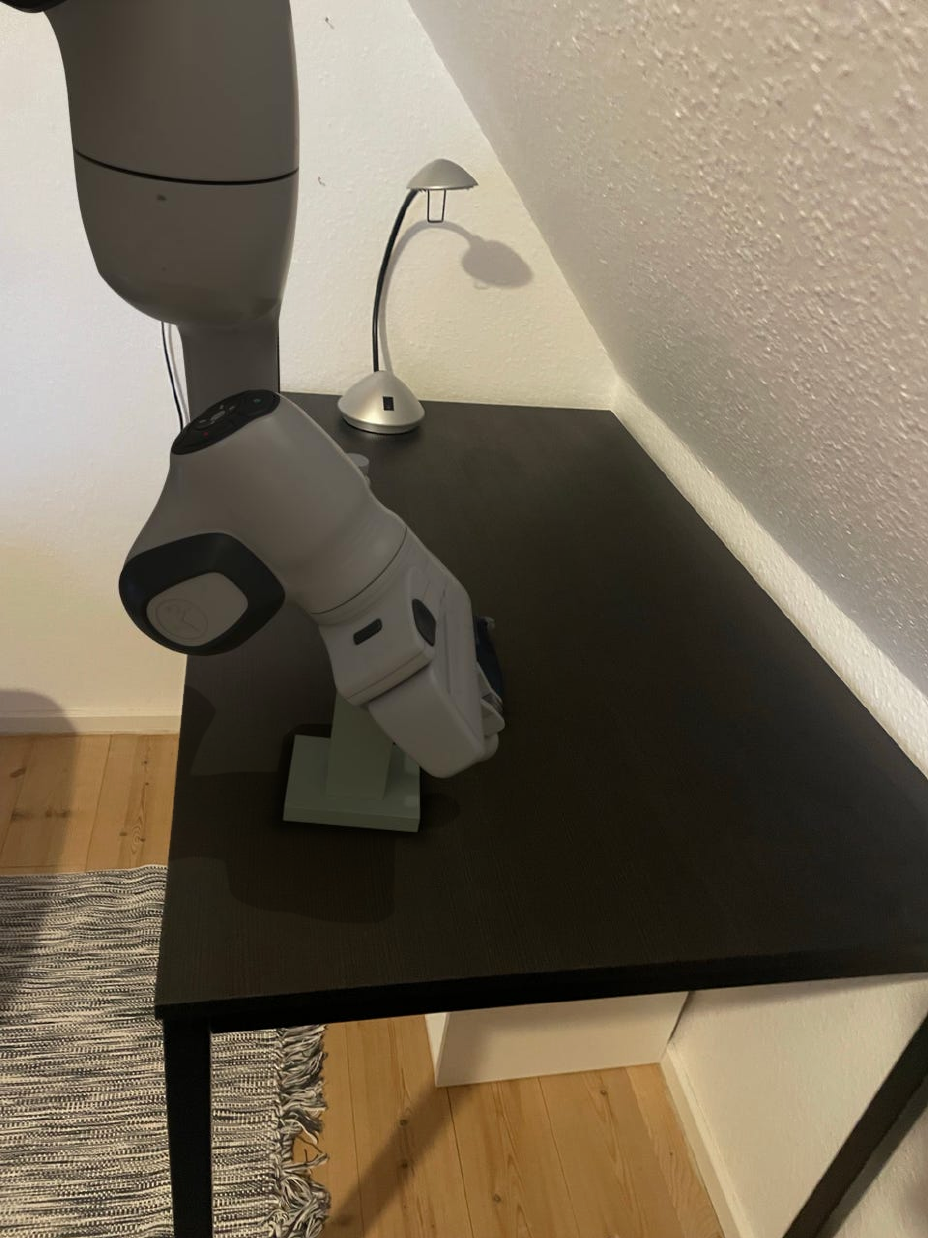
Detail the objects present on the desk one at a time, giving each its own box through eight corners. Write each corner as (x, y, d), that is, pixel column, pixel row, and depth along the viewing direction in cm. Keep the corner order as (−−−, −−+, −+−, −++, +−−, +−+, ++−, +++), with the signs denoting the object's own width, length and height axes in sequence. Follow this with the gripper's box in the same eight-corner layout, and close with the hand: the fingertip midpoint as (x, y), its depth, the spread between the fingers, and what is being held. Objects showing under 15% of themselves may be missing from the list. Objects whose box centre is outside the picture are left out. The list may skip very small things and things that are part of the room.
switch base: (416, 760, 78) (441, 633, 71) (417, 832, 71) (444, 700, 64) (293, 748, 76) (307, 617, 69) (282, 820, 70) (296, 684, 63)
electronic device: (392, 645, 93) (399, 727, 80) (407, 595, 91) (416, 671, 78) (481, 665, 95) (503, 748, 82) (498, 617, 93) (523, 694, 80)
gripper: (352, 544, 74) (455, 659, 80) (335, 710, 56) (468, 839, 63) (417, 500, 72) (517, 621, 78) (419, 658, 55) (547, 796, 61)
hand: (495, 720), depth 71 cm, fingers closed, pressing on switch lever
